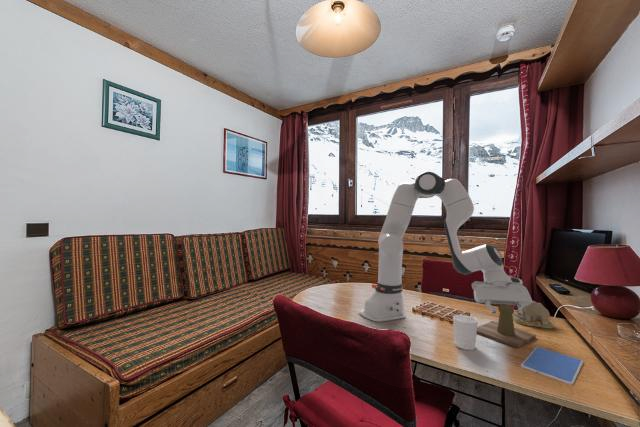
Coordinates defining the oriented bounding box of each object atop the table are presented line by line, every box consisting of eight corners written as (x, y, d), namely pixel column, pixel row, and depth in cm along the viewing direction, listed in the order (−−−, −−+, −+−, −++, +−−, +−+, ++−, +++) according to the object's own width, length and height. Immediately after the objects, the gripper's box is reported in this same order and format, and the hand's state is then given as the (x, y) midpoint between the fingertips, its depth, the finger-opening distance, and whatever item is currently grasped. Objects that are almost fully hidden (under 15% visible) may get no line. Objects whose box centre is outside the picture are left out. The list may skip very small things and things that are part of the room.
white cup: (476, 353, 97) (476, 324, 97) (451, 347, 101) (452, 319, 101) (477, 344, 103) (478, 317, 103) (454, 339, 108) (454, 313, 108)
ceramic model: (542, 319, 128) (542, 297, 128) (559, 330, 117) (559, 306, 117) (508, 317, 130) (509, 296, 130) (522, 327, 119) (523, 304, 119)
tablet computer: (572, 387, 79) (572, 383, 79) (519, 368, 89) (519, 364, 89) (583, 364, 91) (583, 360, 91) (536, 349, 101) (536, 345, 101)
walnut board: (516, 348, 100) (516, 345, 100) (472, 331, 114) (472, 329, 114) (535, 337, 109) (535, 334, 109) (492, 323, 123) (492, 320, 123)
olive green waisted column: (512, 330, 112) (512, 303, 112) (517, 337, 107) (517, 308, 107) (495, 328, 115) (495, 301, 115) (499, 334, 109) (499, 306, 109)
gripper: (472, 277, 119) (480, 307, 110) (526, 280, 115) (539, 311, 106) (468, 285, 124) (476, 315, 114) (520, 287, 120) (532, 319, 110)
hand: (507, 313), depth 110 cm, fingers open, 8 cm apart
